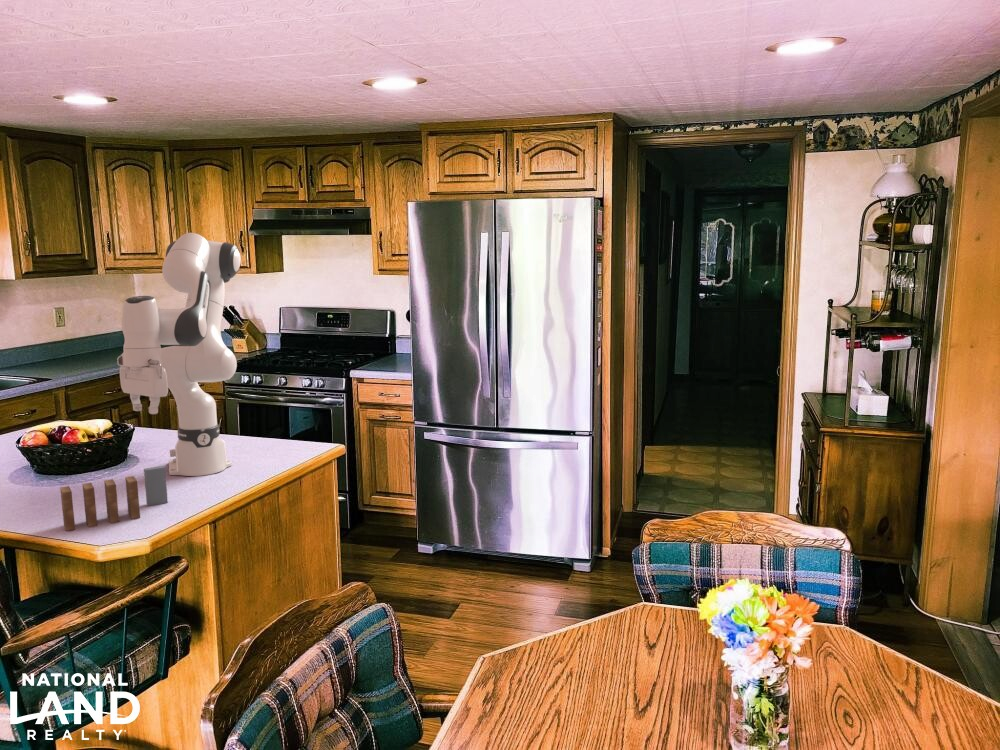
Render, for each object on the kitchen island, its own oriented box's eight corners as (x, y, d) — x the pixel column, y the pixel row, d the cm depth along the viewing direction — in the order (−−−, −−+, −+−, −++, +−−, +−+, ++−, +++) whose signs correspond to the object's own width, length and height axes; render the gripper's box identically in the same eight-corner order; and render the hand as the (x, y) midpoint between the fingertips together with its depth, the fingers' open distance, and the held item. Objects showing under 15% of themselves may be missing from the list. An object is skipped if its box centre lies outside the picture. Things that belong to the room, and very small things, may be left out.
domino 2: (88, 527, 200) (85, 489, 198) (86, 521, 204) (82, 483, 203) (97, 525, 201) (93, 487, 200) (94, 519, 205) (91, 482, 204)
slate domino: (146, 504, 217) (143, 468, 216) (166, 500, 220) (163, 465, 218) (148, 506, 216) (145, 470, 214) (167, 502, 218) (165, 467, 217)
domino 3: (110, 523, 203) (107, 485, 201) (107, 517, 207) (104, 480, 205) (119, 521, 204) (115, 484, 202) (115, 516, 208) (112, 479, 206)
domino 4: (131, 519, 206) (128, 482, 204) (128, 513, 210) (125, 477, 208) (140, 517, 207) (137, 480, 205) (136, 512, 211) (133, 475, 209)
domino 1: (66, 531, 198) (62, 492, 196) (64, 525, 202) (60, 487, 200) (75, 529, 199) (71, 491, 197) (72, 523, 203) (69, 485, 201)
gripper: (173, 359, 201) (175, 414, 202) (138, 357, 215) (141, 408, 216) (148, 361, 196) (151, 417, 198) (114, 358, 210) (117, 410, 211)
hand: (145, 412), depth 207 cm, fingers open, 8 cm apart
